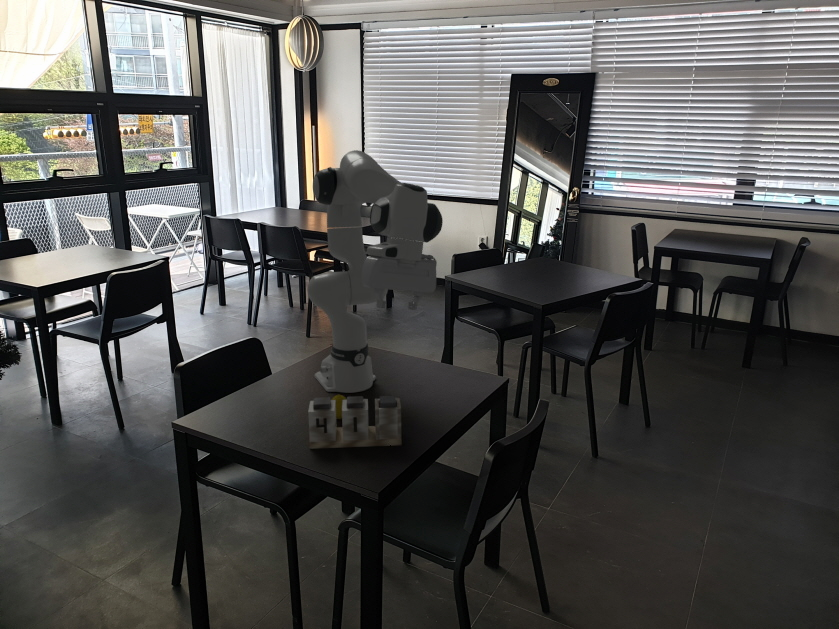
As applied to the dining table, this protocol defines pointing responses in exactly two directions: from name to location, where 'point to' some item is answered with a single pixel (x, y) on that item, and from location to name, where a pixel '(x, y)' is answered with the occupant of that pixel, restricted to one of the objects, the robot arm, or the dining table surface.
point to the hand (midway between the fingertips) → (396, 308)
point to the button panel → (353, 424)
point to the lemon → (339, 405)
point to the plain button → (387, 401)
